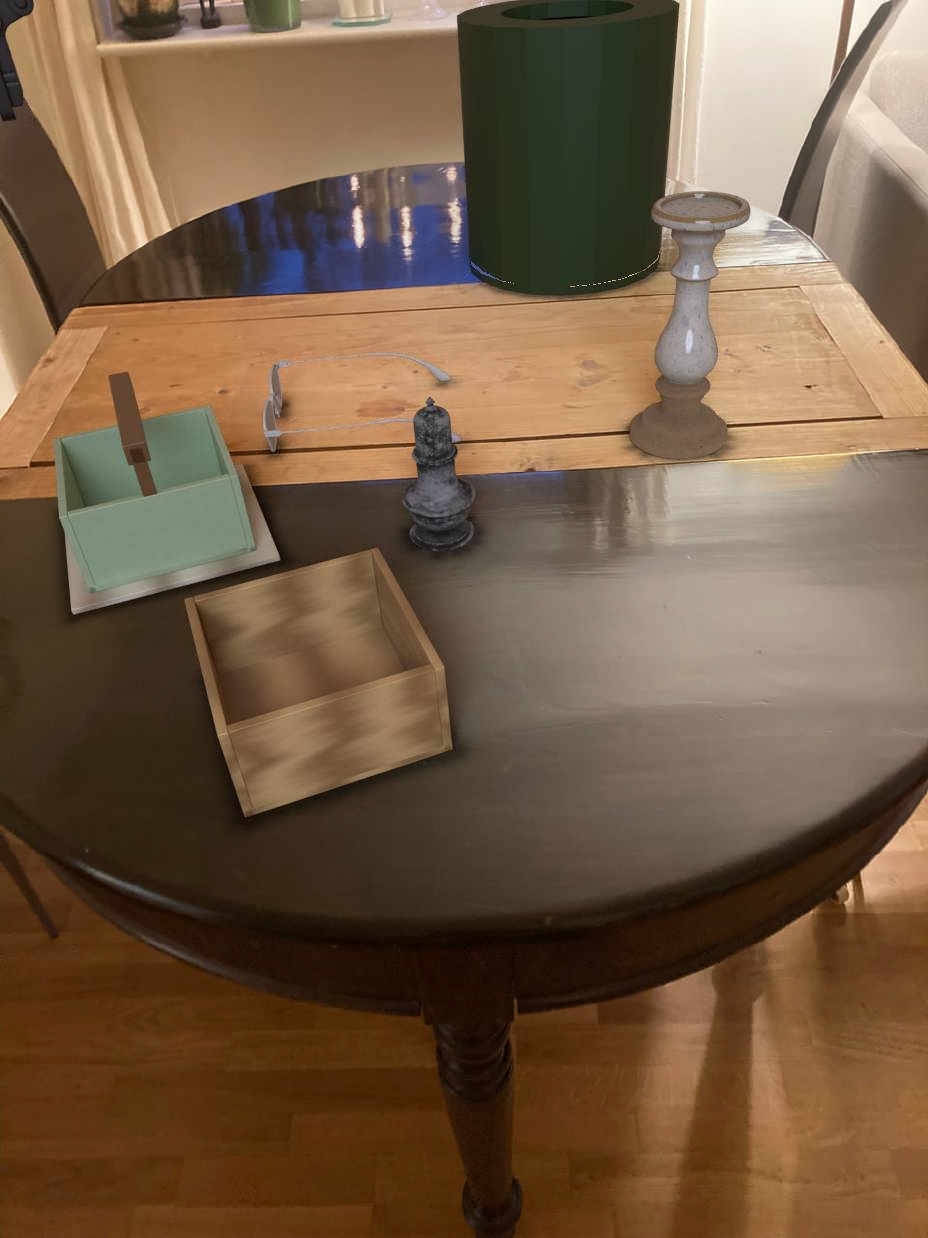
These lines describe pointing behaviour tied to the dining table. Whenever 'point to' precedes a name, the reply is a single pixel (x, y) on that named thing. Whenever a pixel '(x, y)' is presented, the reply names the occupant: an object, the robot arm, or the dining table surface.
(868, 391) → the dining table surface
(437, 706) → the brown wooden open box
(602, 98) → the flower pot
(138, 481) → the top basket
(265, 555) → the placemat
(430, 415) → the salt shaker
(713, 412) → the candle holder
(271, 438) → the eyeglasses
